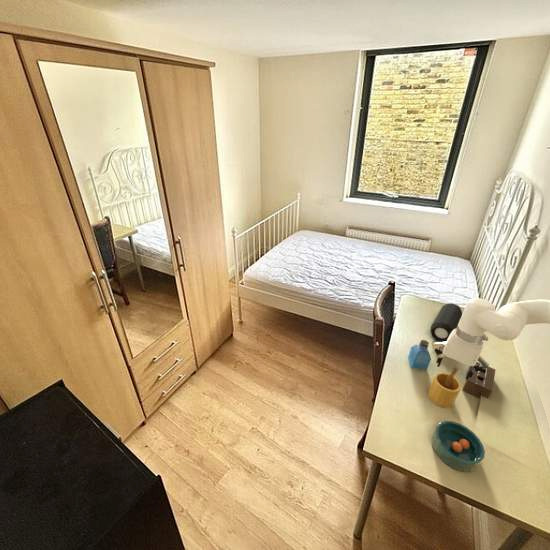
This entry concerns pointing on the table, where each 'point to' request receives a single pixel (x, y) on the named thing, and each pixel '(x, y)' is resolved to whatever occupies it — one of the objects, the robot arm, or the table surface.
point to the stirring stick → (451, 376)
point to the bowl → (453, 433)
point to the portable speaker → (446, 322)
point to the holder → (480, 382)
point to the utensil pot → (444, 390)
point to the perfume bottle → (420, 355)
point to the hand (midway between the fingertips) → (452, 370)
